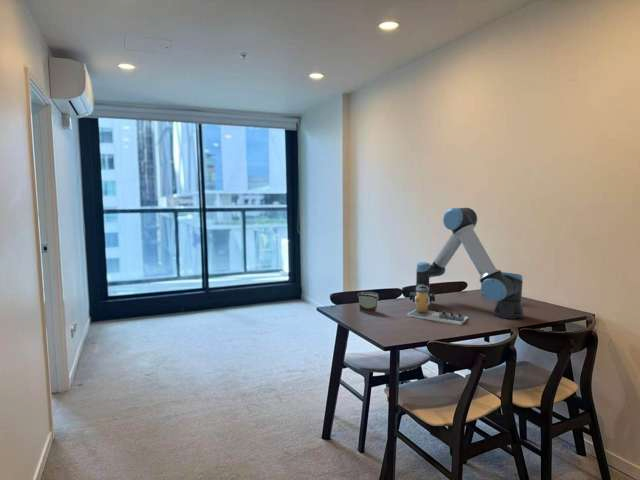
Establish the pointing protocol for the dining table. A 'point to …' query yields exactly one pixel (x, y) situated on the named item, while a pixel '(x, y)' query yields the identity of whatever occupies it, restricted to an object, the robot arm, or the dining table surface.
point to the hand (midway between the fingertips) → (422, 301)
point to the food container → (368, 301)
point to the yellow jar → (422, 299)
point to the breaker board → (436, 318)
